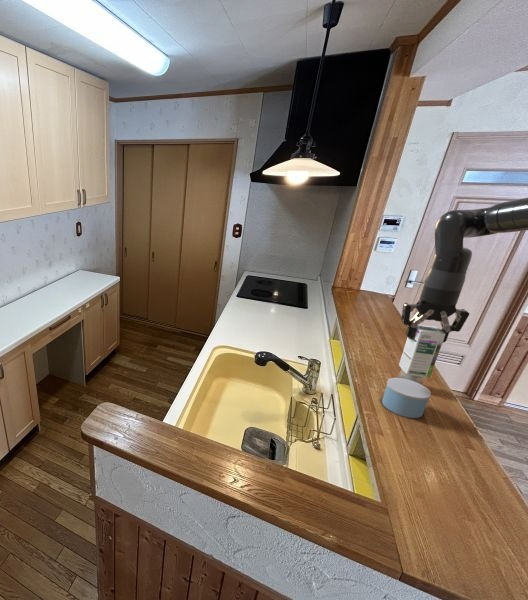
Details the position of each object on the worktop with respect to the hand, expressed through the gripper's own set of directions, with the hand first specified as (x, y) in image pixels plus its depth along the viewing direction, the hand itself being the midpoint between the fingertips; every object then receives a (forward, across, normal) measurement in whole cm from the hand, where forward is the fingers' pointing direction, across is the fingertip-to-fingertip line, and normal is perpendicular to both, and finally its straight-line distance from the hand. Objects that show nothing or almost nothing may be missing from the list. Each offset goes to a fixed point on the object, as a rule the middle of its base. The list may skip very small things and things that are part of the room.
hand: (424, 340), depth 93 cm
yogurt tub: (+24, 0, 0) cm, 24 cm away
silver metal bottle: (+24, +5, +15) cm, 29 cm away
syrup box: (+11, 0, 0) cm, 11 cm away
